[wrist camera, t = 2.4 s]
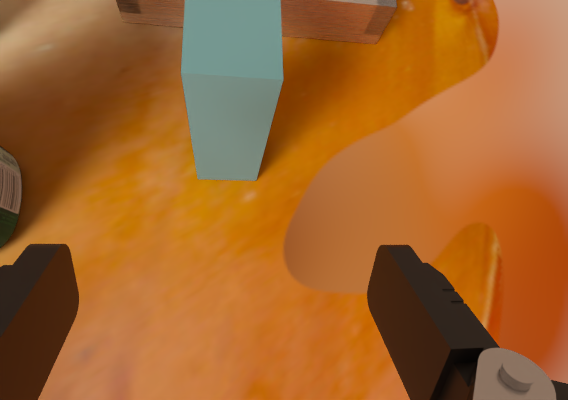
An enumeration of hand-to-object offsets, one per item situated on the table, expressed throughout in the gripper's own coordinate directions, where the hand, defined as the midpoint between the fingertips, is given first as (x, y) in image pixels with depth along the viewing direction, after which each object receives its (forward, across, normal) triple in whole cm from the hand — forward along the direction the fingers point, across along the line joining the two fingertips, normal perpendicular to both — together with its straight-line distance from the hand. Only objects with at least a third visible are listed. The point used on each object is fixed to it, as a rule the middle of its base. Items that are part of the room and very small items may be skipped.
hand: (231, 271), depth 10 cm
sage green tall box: (+17, 0, +3) cm, 18 cm away
